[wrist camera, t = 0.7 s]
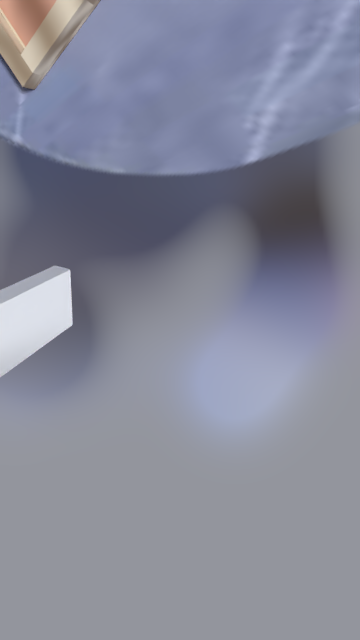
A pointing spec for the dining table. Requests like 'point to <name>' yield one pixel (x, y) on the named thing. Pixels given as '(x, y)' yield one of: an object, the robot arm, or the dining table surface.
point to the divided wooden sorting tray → (38, 34)
